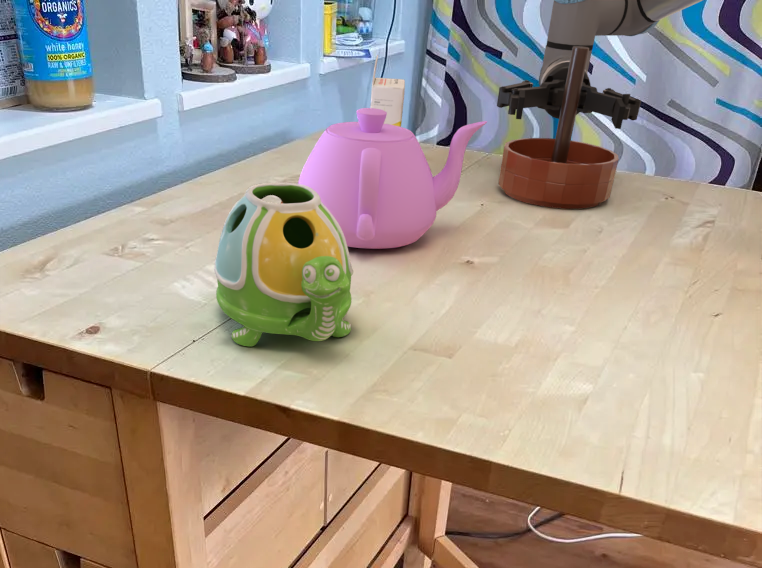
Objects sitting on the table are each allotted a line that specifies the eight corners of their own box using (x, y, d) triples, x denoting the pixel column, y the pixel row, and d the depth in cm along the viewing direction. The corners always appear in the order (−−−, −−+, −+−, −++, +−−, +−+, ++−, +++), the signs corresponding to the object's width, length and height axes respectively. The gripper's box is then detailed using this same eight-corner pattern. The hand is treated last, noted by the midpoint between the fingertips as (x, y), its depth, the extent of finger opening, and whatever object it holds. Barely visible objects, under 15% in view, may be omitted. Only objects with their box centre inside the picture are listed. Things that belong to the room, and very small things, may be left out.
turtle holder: (259, 386, 66) (256, 238, 59) (201, 304, 79) (193, 175, 72) (394, 367, 70) (407, 227, 63) (318, 292, 83) (322, 169, 76)
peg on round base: (567, 183, 122) (595, 45, 111) (579, 195, 117) (610, 51, 106) (528, 182, 121) (553, 42, 110) (539, 193, 116) (566, 48, 105)
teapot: (481, 271, 91) (501, 138, 83) (289, 261, 90) (290, 124, 82) (460, 214, 108) (475, 99, 100) (299, 205, 108) (300, 88, 99)
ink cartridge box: (398, 174, 124) (407, 64, 115) (366, 171, 124) (372, 61, 115) (398, 160, 131) (406, 55, 122) (367, 158, 131) (374, 53, 122)
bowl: (587, 181, 127) (597, 140, 123) (623, 212, 114) (635, 166, 110) (487, 178, 125) (493, 135, 121) (512, 208, 112) (520, 162, 109)
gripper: (638, 122, 128) (654, 151, 112) (482, 107, 131) (475, 134, 114) (652, 68, 124) (670, 90, 107) (489, 54, 126) (483, 73, 109)
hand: (570, 113), depth 110 cm, fingers open, 13 cm apart
